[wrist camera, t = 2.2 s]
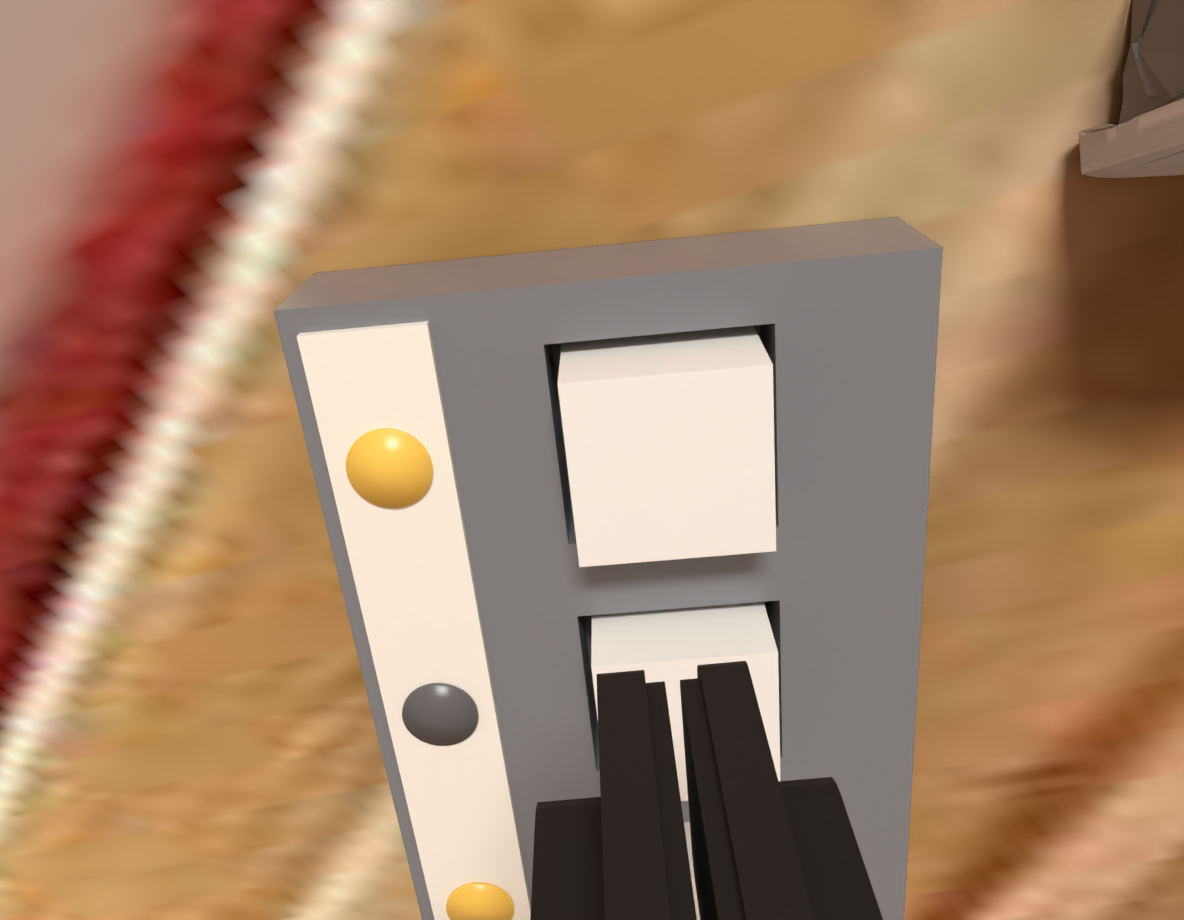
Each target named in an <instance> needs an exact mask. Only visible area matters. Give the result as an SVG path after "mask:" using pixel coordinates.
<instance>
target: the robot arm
mask: <svg viewBox="0 0 1184 920" xmlns="http://www.w3.org/2000/svg"><path fill="white" fill-rule="evenodd" d="M680 694H681V707H682V721H683V735H684V749H685V763H686V777H687V791H688V805H689V819H690V833H691V847H692V859H693V869H694V878H695V886H696V893H697V900H698V908H699V915H700V920H883V918H882V915H881V912H880V909H879V906H878V903H877V900H876V897H875V894H874V891H873V888H872V885H871V882H870V879H869V876H868V873H867V870H866V867H865V864H864V861H863V858H862V855H861V852H860V850H859V847H858V844H857V841H856V838H855V835H854V832H853V829H852V826H851V823H850V820H849V817H848V814H847V811H846V808H845V805H844V802H843V799H842V796H841V793H840V791H839V788H838V786H837V783H836V782H835V780H834V779H833V778H832V777H824V778H813V779H801V780H790V781H778V778H777V774H776V770H775V766H774V762H773V759H772V755H771V751H770V747H769V743H768V739H767V736H766V732H765V728H764V724H763V720H762V717H761V713H760V709H759V705H758V701H757V698H756V694H755V690H754V686H753V682H752V679H751V675H750V671H749V668H748V664H747V662H746V661H737V662H726V663H715V664H703V665H698V666H697V678H695V679H684V680H680ZM597 707H598V736H599V764H600V793H601V797H592V798H581V799H569V800H557V801H546V802H537V806H536V814H535V830H534V852H533V874H532V895H531V917H530V920H697V917H696V909H695V902H694V894H693V887H692V880H691V872H690V865H689V857H688V850H687V843H686V835H685V828H684V820H683V813H682V805H681V798H680V791H679V783H678V776H677V768H676V761H675V753H674V746H673V739H672V731H671V724H670V716H669V709H668V701H667V694H666V687H665V681H662V682H651V683H646V681H645V672H644V670H636V671H625V672H614V673H603V674H597Z"/></svg>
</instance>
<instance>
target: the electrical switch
mask: <svg viewBox="0 0 1184 920" xmlns="http://www.w3.org/2000/svg"><path fill="white" fill-rule="evenodd" d="M1079 144H1080V160H1081V174H1083V175H1086V176H1090V177H1100V178H1131V177H1151V176H1171V175H1184V0H1132V23H1131V45H1130V49H1129V53H1128V56H1127V60H1126V64H1125V68H1124V72H1123V103H1122V108H1121V114H1120V119H1119V125H1113V124H1106V125H1102V126H1098V127H1094V128H1091V129H1087V130H1083V131H1079Z"/></svg>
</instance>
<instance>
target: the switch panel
mask: <svg viewBox="0 0 1184 920" xmlns="http://www.w3.org/2000/svg"><path fill="white" fill-rule="evenodd" d="M942 249H943V247H941V246H940V245H938V244H937V243H936V242H934V241H933V240H931V239H930V238H928V237H927V236H925V235H924V234H922V233H921V232H919V231H918V230H916V229H915V228H913V227H912V226H910V225H909V224H907V223H906V222H904V221H903V220H901V219H900V218H898V217H892V218H882V219H872V220H861V221H851V222H841V223H830V224H820V225H809V226H799V227H789V228H778V229H768V230H758V231H747V232H737V233H726V234H716V235H706V236H695V237H685V238H675V239H664V240H654V241H643V242H633V243H623V244H612V245H602V246H592V247H581V248H571V249H560V250H550V251H540V252H529V253H519V254H509V255H498V256H488V257H477V258H467V259H457V260H446V261H436V262H426V263H415V264H405V265H394V266H384V267H374V268H363V269H353V270H343V271H332V272H322V273H314V274H313V275H312V276H311V277H310V278H309V279H308V280H306V281H305V282H304V283H303V284H302V285H301V286H300V287H299V288H298V289H297V290H296V291H295V292H293V293H292V294H291V295H290V296H289V297H288V298H287V299H286V300H285V301H284V302H283V303H281V304H280V305H279V306H278V307H277V308H276V309H275V310H274V314H275V318H276V322H277V326H278V330H279V335H280V339H281V343H282V347H283V351H284V355H285V359H286V363H287V367H288V371H289V375H290V380H291V384H292V388H293V392H294V396H295V400H296V404H297V408H298V412H299V416H300V421H301V425H302V429H303V433H304V437H305V441H306V445H307V449H308V453H309V457H310V462H311V466H312V470H313V474H314V478H315V482H316V486H317V490H318V494H319V498H320V502H321V507H322V511H323V515H324V519H325V523H326V527H327V531H328V535H329V539H330V543H331V548H332V552H333V556H334V560H335V564H336V568H337V572H338V576H339V580H340V584H341V588H342V593H343V597H344V601H345V605H346V609H347V613H348V617H349V621H350V625H351V629H352V634H353V638H354V642H355V646H356V650H357V654H358V658H359V662H360V666H361V670H362V674H363V679H364V683H365V687H366V691H367V695H368V699H369V703H370V707H371V711H372V715H373V720H374V724H375V728H376V732H377V736H378V740H379V744H380V748H381V752H382V756H383V760H384V765H385V769H386V773H387V777H388V781H389V785H390V789H391V793H392V797H393V801H394V806H395V810H396V814H397V818H398V822H399V826H400V830H401V834H402V838H403V842H404V847H405V851H406V855H407V859H408V863H409V867H410V871H411V875H412V879H413V883H414V887H415V892H416V896H417V900H418V904H419V908H420V912H421V916H422V920H530V917H531V895H532V874H533V852H534V830H535V814H536V806H537V802H546V801H557V800H569V799H581V798H592V797H601V793H600V764H599V736H598V719H597V710H596V702H595V693H594V685H593V677H592V668H591V639H592V615H601V614H614V613H626V612H639V611H652V610H664V609H677V608H689V607H702V606H715V605H727V604H740V603H752V602H764V605H765V608H766V612H767V615H768V619H769V622H770V626H771V629H772V633H773V636H774V640H775V643H776V647H777V650H778V672H779V727H780V781H790V780H801V779H813V778H824V777H832V778H833V779H834V780H835V782H836V783H837V786H838V788H839V791H840V793H841V796H842V799H843V802H844V805H845V808H846V811H847V814H848V817H849V820H850V823H851V826H852V829H853V832H854V835H855V838H856V841H857V844H858V847H859V850H860V852H861V855H862V858H863V861H864V864H865V867H866V870H867V873H868V876H869V879H870V882H871V885H872V888H873V891H874V894H875V897H876V900H877V903H878V906H879V909H880V912H881V915H882V918H883V920H904V911H905V894H906V876H907V859H908V841H909V824H910V806H911V789H912V772H913V754H914V737H915V719H916V702H917V685H918V667H919V650H920V632H921V615H922V598H923V580H924V563H925V545H926V528H927V510H928V493H929V476H930V458H931V441H932V423H933V406H934V389H935V371H936V354H937V336H938V319H939V302H940V284H941V267H942ZM752 325H753V326H754V328H755V330H756V332H757V334H758V336H759V338H760V340H761V342H762V344H763V346H764V348H765V350H766V352H767V354H768V356H769V358H770V360H771V362H772V364H773V399H774V453H775V508H776V551H773V552H760V553H748V554H736V555H724V556H711V557H699V558H687V559H675V560H662V561H650V562H638V563H626V564H613V565H601V566H589V567H579V559H578V551H577V543H576V534H575V526H574V518H573V509H572V501H571V492H570V484H569V476H568V467H567V459H566V451H565V442H564V434H563V425H562V417H561V409H560V400H559V392H558V374H559V365H560V355H561V345H562V343H567V342H578V341H589V340H600V339H611V338H622V337H633V336H643V335H654V334H665V333H676V332H687V331H698V330H709V329H720V328H730V327H741V326H752ZM681 805H682V813H683V820H684V822H690V819H689V805H688V801H681Z"/></svg>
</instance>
